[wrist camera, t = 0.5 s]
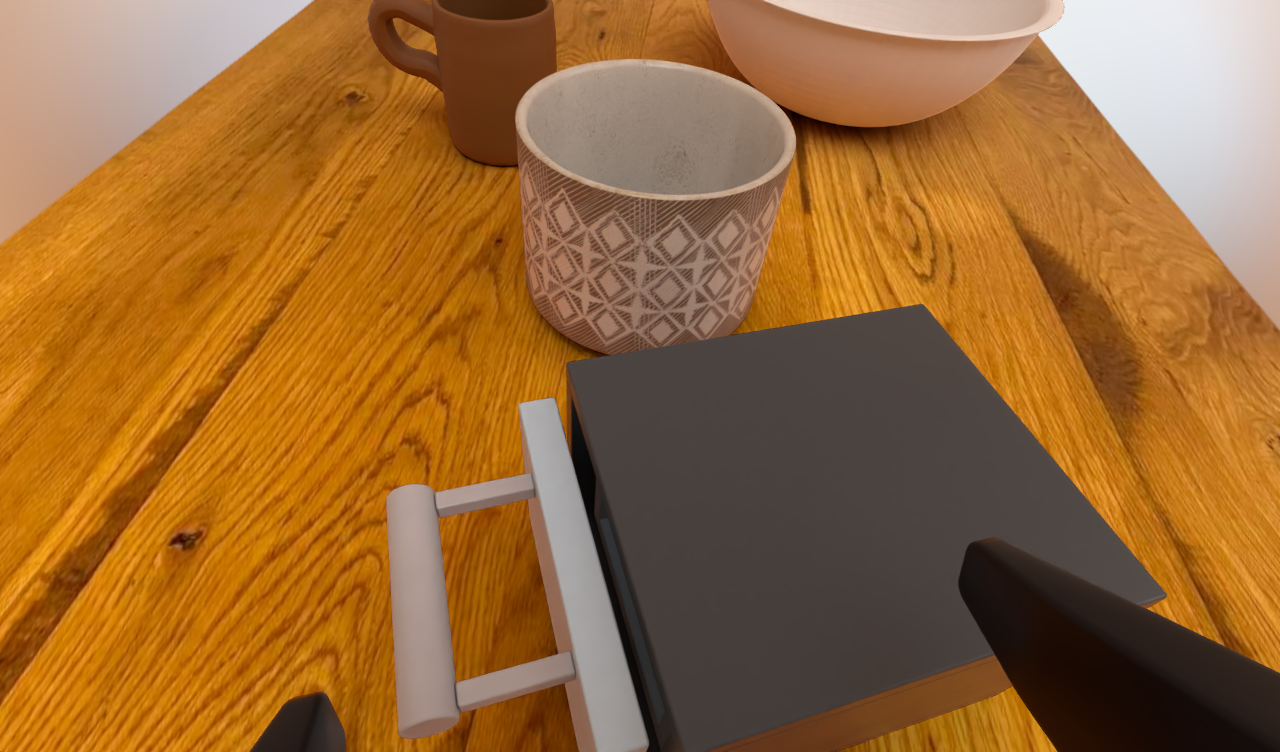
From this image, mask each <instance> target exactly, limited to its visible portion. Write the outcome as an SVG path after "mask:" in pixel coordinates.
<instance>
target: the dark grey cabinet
mask: <svg viewBox="0 0 1280 752" xmlns="http://www.w3.org/2000/svg"><path fill="white" fill-rule="evenodd" d="M566 368H567V443H568V447H569V451H570V454H571V458H572V462H573V465H574V469H575V473H576V476H577V480H578V484H579V487H580V491H581V494H582V498H583V502H584V505H585V509H586V513H587V516H588V520H589V524H590V527H591V531H592V535H593V538H594V542H595V546H596V549H597V553H598V557H599V560H600V564H601V568H602V571H603V575H604V579H605V582H606V586H607V590H608V593H609V597H610V600H611V604H612V608H613V611H614V615H615V619H616V622H617V626H618V630H619V633H620V637H621V641H622V644H623V648H624V652H625V655H626V659H627V663H628V666H629V670H630V674H631V677H632V681H633V685H634V688H635V692H636V695H637V699H638V703H639V706H640V710H641V714H642V717H643V721H644V725H645V728H646V732H647V736H648V739H649V746H648V748H647V751H646V752H837V751H840V750H843V749H846V748H849V747H852V746H854V745H857V744H860V743H863V742H866V741H868V740H871V739H874V738H877V737H880V736H883V735H885V734H888V733H891V732H894V731H897V730H899V729H902V728H905V727H908V726H911V725H913V724H916V723H919V722H922V721H925V720H928V719H930V718H933V717H936V716H939V715H942V714H944V713H947V712H950V711H953V710H956V709H959V708H961V707H964V706H967V705H970V704H973V703H975V702H978V701H981V700H984V699H987V698H989V697H992V696H995V695H998V694H999V693H1001V692H1003V691H1005V690H1006V689H1008V688H1010V687H1011V686H1013V685H1012V684H1011V682H1010V680H1009V679H1008V677H1007V675H1006V673H1005V672H1004V670H1003V668H1002V667H1001V665H1000V663H999V661H998V660H997V658H996V656H995V654H994V653H993V651H992V649H991V647H990V646H989V644H988V642H987V640H986V639H985V637H984V635H983V634H982V632H981V630H980V628H979V627H978V625H977V623H976V621H975V620H974V618H973V616H972V614H971V613H970V611H969V609H968V607H967V606H966V604H965V602H964V600H963V599H962V597H961V594H960V591H959V587H958V579H959V575H960V571H961V567H962V563H963V560H964V556H965V552H966V549H967V546H968V545H969V544H970V543H971V542H974V541H978V540H982V539H986V538H992V537H996V538H1000V539H1003V540H1005V541H1007V542H1009V543H1012V544H1014V545H1016V546H1018V547H1020V548H1022V549H1024V550H1026V551H1028V552H1030V553H1032V554H1034V555H1036V556H1038V557H1040V558H1043V559H1045V560H1047V561H1049V562H1051V563H1053V564H1055V565H1057V566H1059V567H1061V568H1063V569H1065V570H1067V571H1069V572H1072V573H1074V574H1076V575H1078V576H1080V577H1082V578H1084V579H1086V580H1088V581H1090V582H1092V583H1094V584H1096V585H1098V586H1101V587H1103V588H1105V589H1107V590H1109V591H1111V592H1113V593H1115V594H1117V595H1119V596H1121V597H1123V598H1125V599H1127V600H1129V601H1132V602H1134V603H1136V604H1138V605H1140V606H1142V607H1144V608H1149V607H1151V606H1153V605H1154V604H1156V603H1158V602H1159V601H1161V600H1163V599H1165V598H1166V596H1167V594H1166V593H1165V592H1164V590H1163V589H1162V588H1161V587H1160V586H1159V584H1158V583H1157V582H1156V581H1155V580H1154V578H1153V577H1152V576H1151V575H1150V574H1149V573H1148V571H1147V570H1146V569H1145V568H1144V567H1143V565H1142V564H1141V563H1140V562H1139V561H1138V559H1137V558H1136V557H1135V556H1134V555H1133V553H1132V552H1131V551H1130V550H1129V549H1128V548H1127V546H1126V545H1125V544H1124V543H1123V542H1122V540H1121V539H1120V538H1119V537H1118V536H1117V534H1116V533H1115V532H1114V531H1113V530H1112V528H1111V527H1110V526H1109V525H1108V524H1107V522H1106V521H1105V520H1104V519H1103V518H1102V517H1101V515H1100V514H1099V513H1098V512H1097V511H1096V509H1095V508H1094V507H1093V506H1092V505H1091V503H1090V502H1089V501H1088V500H1087V499H1086V497H1085V496H1084V495H1083V494H1082V493H1081V492H1080V490H1079V489H1078V488H1077V487H1076V486H1075V484H1074V483H1073V482H1072V481H1071V480H1070V478H1069V477H1068V476H1067V475H1066V474H1065V472H1064V471H1063V470H1062V469H1061V468H1060V467H1059V465H1058V464H1057V463H1056V462H1055V461H1054V459H1053V458H1052V457H1051V456H1050V455H1049V453H1048V452H1047V451H1046V450H1045V449H1044V447H1043V446H1042V445H1041V444H1040V443H1039V441H1038V440H1037V439H1036V438H1035V437H1034V436H1033V434H1032V433H1031V432H1030V431H1029V430H1028V428H1027V427H1026V426H1025V425H1024V424H1023V422H1022V421H1021V420H1020V419H1019V418H1018V416H1017V415H1016V414H1015V413H1014V412H1013V411H1012V409H1011V408H1010V407H1009V406H1008V405H1007V403H1006V402H1005V401H1004V400H1003V399H1002V397H1001V396H1000V395H999V394H998V393H997V391H996V390H995V389H994V388H993V387H992V386H991V384H990V383H989V382H988V381H987V380H986V378H985V377H984V376H983V375H982V374H981V372H980V371H979V370H978V369H977V368H976V366H975V365H974V364H973V363H972V362H971V360H970V359H969V358H968V357H967V356H966V355H965V353H964V352H963V351H962V350H961V349H960V347H959V346H958V345H957V344H956V343H955V341H954V340H953V339H952V338H951V337H950V335H949V334H948V333H947V332H946V331H945V330H944V328H943V327H942V326H941V325H940V324H939V322H938V321H937V320H936V319H935V318H934V316H933V315H932V314H931V313H930V312H929V310H928V309H927V308H926V307H925V306H924V305H923V304H919V305H913V306H906V307H900V308H894V309H888V310H882V311H876V312H870V313H864V314H858V315H852V316H846V317H840V318H833V319H827V320H821V321H815V322H809V323H803V324H797V325H791V326H785V327H779V328H773V329H767V330H761V331H754V332H748V333H742V334H736V335H730V336H724V337H718V338H712V339H706V340H700V341H694V342H688V343H681V344H675V345H669V346H663V347H657V348H651V349H645V350H639V351H633V352H627V353H621V354H615V355H608V356H602V357H596V358H590V359H584V360H578V361H572V362H568V363H567V365H566ZM596 479H597V482H598V486H599V489H600V493H601V496H602V499H603V503H604V506H605V509H606V513H607V516H608V520H609V523H610V526H611V530H612V533H613V537H614V540H615V543H616V547H617V550H618V553H619V557H620V560H621V564H622V567H623V570H624V574H625V577H626V581H627V584H628V587H629V591H630V594H631V597H632V601H633V604H634V608H635V611H636V614H637V618H638V621H639V624H640V628H641V631H642V635H643V638H644V641H645V645H646V648H647V652H648V655H649V658H650V662H651V665H652V668H653V672H654V675H655V679H656V682H657V685H658V689H659V692H660V696H661V699H662V702H663V706H664V709H665V712H666V716H667V719H668V723H669V726H670V731H669V733H668V736H667V738H666V740H665V742H664V744H663V746H662V748H661V749H660V746H659V742H658V739H657V735H656V732H655V728H654V725H653V721H652V717H651V714H650V710H649V707H648V703H647V700H646V696H645V693H644V689H643V686H642V682H641V678H640V675H639V671H638V668H637V664H636V661H635V657H634V654H633V650H632V646H631V643H630V639H629V636H628V632H627V629H626V625H625V622H624V618H623V615H622V611H621V607H620V604H619V600H618V597H617V593H616V590H615V586H614V583H613V579H612V575H611V572H610V568H609V565H608V561H607V558H606V554H605V551H604V547H603V544H602V540H601V536H600V533H599V529H598V526H597V522H596V519H595V515H594V507H595V491H596Z"/></svg>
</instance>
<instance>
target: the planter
mask: <svg viewBox="0 0 1280 752" xmlns="http://www.w3.org/2000/svg"><path fill="white" fill-rule="evenodd" d="M515 122H516V136H517V151H518V165H519V180H520V194H521V209H522V223H523V238H524V252H525V267H526V281H527V287H528V290H529V294H530V296H531V299H532V301H533V303H534V304H535V306H536V308H537V309H538V311H539V312H540V314H541V315H542V316H543V317H544V318H545V320H546V321H547V322H548V323H549V324H550V325H552V326H553V327H554V328H555V329H556V330H558V331H559V332H560V333H562V334H563V335H564V336H566V337H568V338H569V339H571V340H573V341H575V342H576V343H578V344H580V345H583V346H585V347H587V348H590V349H592V350H595V351H598V352H601V353H605V354H608V355H615V354H621V353H627V352H633V351H639V350H645V349H651V348H657V347H663V346H669V345H675V344H681V343H688V342H694V341H700V340H706V339H712V338H718V337H724V336H729V335H730V334H731V333H732V332H734V331H735V330H736V329H737V328H738V326H739V325H740V324H741V323H742V322H743V320H744V319H745V317H746V315H747V314H748V312H749V310H750V307H751V304H752V301H753V298H754V294H755V291H756V287H757V284H758V280H759V276H760V273H761V269H762V266H763V262H764V259H765V255H766V252H767V248H768V245H769V241H770V238H771V234H772V230H773V227H774V223H775V220H776V216H777V213H778V209H779V206H780V202H781V199H782V195H783V192H784V188H785V184H786V181H787V177H788V174H789V170H790V167H791V163H792V160H793V156H794V153H795V148H796V136H795V131H794V128H793V126H792V124H791V122H790V120H789V118H788V117H787V116H786V114H785V113H784V112H783V111H782V109H781V108H780V107H779V106H778V105H777V104H775V103H774V102H773V101H772V100H771V99H769V98H768V97H767V96H765V95H764V94H763V93H761V92H759V91H758V90H756V89H755V88H753V87H751V86H749V85H747V84H745V83H743V82H741V81H739V80H737V79H734V78H732V77H729V76H727V75H724V74H721V73H718V72H715V71H712V70H708V69H705V68H701V67H697V66H692V65H688V64H682V63H677V62H670V61H662V60H649V59H616V60H604V61H596V62H590V63H585V64H581V65H577V66H573V67H569V68H566V69H563V70H561V71H558V72H556V73H553V74H551V75H549V76H547V77H545V78H544V79H542V80H540V81H539V82H537V83H536V84H535V85H533V86H532V87H531V88H530V89H529V90H528V91H527V92H526V93H525V94H524V95H523V97H522V98H521V100H520V102H519V104H518V106H517V110H516V115H515Z"/></svg>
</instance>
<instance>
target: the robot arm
mask: <svg viewBox="0 0 1280 752" xmlns="http://www.w3.org/2000/svg"><path fill="white" fill-rule="evenodd" d="M958 587H959V591H960V594H961V597H962V599H963V600H964V602H965V604H966V606H967V607H968V609H969V611H970V613H971V614H972V616H973V618H974V620H975V621H976V623H977V625H978V627H979V628H980V630H981V632H982V634H983V635H984V637H985V639H986V640H987V642H988V644H989V646H990V647H991V649H992V651H993V653H994V654H995V656H996V658H997V660H998V661H999V663H1000V665H1001V667H1002V668H1003V670H1004V672H1005V673H1006V675H1007V677H1008V679H1009V680H1010V682H1011V684H1012V685H1013V687H1014V688H1015V690H1016V692H1017V693H1018V695H1019V696H1020V698H1021V699H1022V701H1023V702H1024V704H1025V705H1026V707H1027V708H1028V710H1029V711H1030V713H1031V714H1032V716H1033V717H1034V718H1035V720H1036V721H1037V723H1038V724H1039V725H1040V727H1041V728H1042V730H1043V731H1044V733H1045V734H1046V735H1047V737H1048V738H1049V740H1050V741H1051V743H1052V744H1053V745H1054V747H1055V748H1056V750H1057V751H1058V752H1280V673H1278V672H1276V671H1274V670H1272V669H1270V668H1268V667H1266V666H1264V665H1262V664H1260V663H1258V662H1256V661H1254V660H1252V659H1250V658H1247V657H1245V656H1243V655H1241V654H1239V653H1237V652H1235V651H1233V650H1231V649H1229V648H1227V647H1225V646H1223V645H1221V644H1218V643H1216V642H1214V641H1212V640H1210V639H1208V638H1206V637H1204V636H1202V635H1200V634H1198V633H1196V632H1194V631H1192V630H1189V629H1187V628H1185V627H1183V626H1181V625H1179V624H1177V623H1175V622H1173V621H1171V620H1169V619H1167V618H1165V617H1163V616H1161V615H1158V614H1156V613H1154V612H1152V611H1150V610H1148V609H1146V608H1144V607H1142V606H1140V605H1138V604H1136V603H1134V602H1132V601H1129V600H1127V599H1125V598H1123V597H1121V596H1119V595H1117V594H1115V593H1113V592H1111V591H1109V590H1107V589H1105V588H1103V587H1101V586H1098V585H1096V584H1094V583H1092V582H1090V581H1088V580H1086V579H1084V578H1082V577H1080V576H1078V575H1076V574H1074V573H1072V572H1069V571H1067V570H1065V569H1063V568H1061V567H1059V566H1057V565H1055V564H1053V563H1051V562H1049V561H1047V560H1045V559H1043V558H1040V557H1038V556H1036V555H1034V554H1032V553H1030V552H1028V551H1026V550H1024V549H1022V548H1020V547H1018V546H1016V545H1014V544H1012V543H1009V542H1007V541H1005V540H1003V539H1000V538H996V537H992V538H986V539H982V540H978V541H974V542H971V543H970V544H969V545H968V546H967V549H966V552H965V556H964V560H963V563H962V567H961V571H960V575H959V579H958ZM250 752H346V739H345V733H344V729H343V727H342V725H341V723H340V721H339V718H338V716H337V714H336V712H335V710H334V708H333V706H332V704H331V702H330V699H329V698H328V696H327V695H326V694H325V693H323V692H315V693H311V694H307V695H302V696H298V697H294V698H292V699H290V700H288V701H287V702H286V703H285V704H284V705H283V706H282V707H281V709H280V710H279V712H278V713H277V714H276V716H275V717H274V719H273V720H272V721H271V723H270V724H269V725H268V727H267V728H266V730H265V731H264V732H263V734H262V735H261V736H260V738H259V739H258V741H257V742H256V743H255V745H254V746H253V748H252V749H251V750H250Z"/></svg>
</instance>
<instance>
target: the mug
mask: <svg viewBox="0 0 1280 752" xmlns="http://www.w3.org/2000/svg"><path fill="white" fill-rule="evenodd" d="M393 18H401V19H403V20H405V21H407V22H409V23H411V24H413V25H415V26H417V27H419V28H421V29H423V30H425V31H427V32H428V33H430V34H432V35H434V36H435V42H436V48H437V55H438V56H437V55H435V54H433V53H431V52H428V51H426V50H421V49H415V48H412V47H410V46H408V45H406V44H405V43H404V42H403V41H402V40H401V38H400V37H399V35H398V34H397V32H396V29H395V27H394V24H393ZM368 22H369V30H370V32H371V35H372V38H373V40H374V42H375V44H376V46H377V47H378V49H379V51H380V52H381V53H382V54H383V56H384V57H385V58H386V59H387V60H388V61H389V62H390V63H391V64H392V65H394V66H395V67H397V68H398V69H400V70H401V71H403V72H406V73H408V74H411V75H413V76H417V77H421V78H424V79H426V80H427V81H428V82H430V83H432V84H433V85H434V86H436V87H437V88H438V89H440V90H441V91H442V92H443V94H444V99H445V104H446V111H447V118H448V125H449V131H450V135H451V138H452V140H453V143H454V145H455V146H456V148H457V149H458V150H459V151H460V152H461V153H462V154H464V155H465V156H467V157H469V158H471V159H473V160H475V161H478V162H481V163H485V164H490V165H498V166H512V165H518V151H517V136H516V122H515V115H516V110H517V106H518V104H519V102H520V100H521V98H522V97H523V95H524V94H525V93H526V92H527V91H528V90H529V89H530V88H531V87H532V86H533V85H535V84H536V83H537V82H539V81H540V80H542V79H544V78H545V77H547V76H549V75H551V74H553V73H556V72H557V62H556V30H555V21H554V8H553V2H552V0H432V5H431V4H429V3H427V2H425V1H424V0H374V1H373V3H372V4H371V6H370V11H369V16H368Z"/></svg>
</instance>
